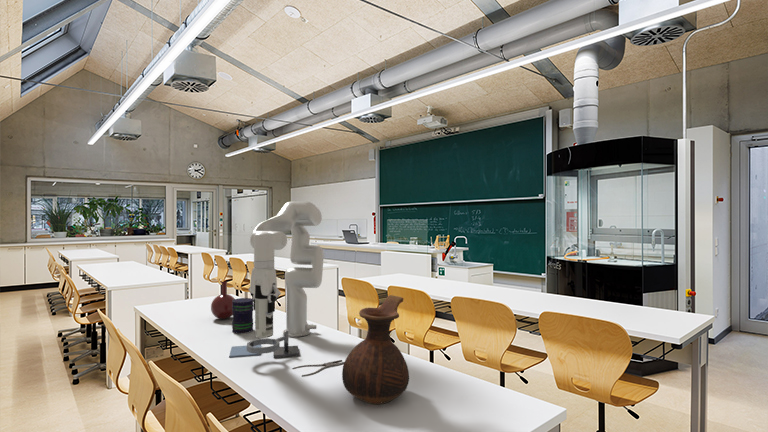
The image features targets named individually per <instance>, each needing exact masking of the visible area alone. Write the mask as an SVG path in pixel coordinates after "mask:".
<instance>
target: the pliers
mask: <svg viewBox="0 0 768 432" xmlns="http://www.w3.org/2000/svg"><path fill="white" fill-rule="evenodd" d="M344 362H345V361H343V360H342V359H339V360H333V361H329V362H324V363H321V364H319V363H318V364H304V365H299V366H296V367H292V370H296V369H299V368H306V367H308V368H309V367H321V368H319V369H318V370H316V371H313V372H310V373H306V374H301V377H308V376H312V375H316V374H317V373H320V372H322V371H323V370H325V369H327V368H331V367H332V368H333V367H338V366H342V365H344Z"/></svg>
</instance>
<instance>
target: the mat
mask: <svg viewBox="0 0 768 432" xmlns="http://www.w3.org/2000/svg"><path fill="white" fill-rule="evenodd" d="M253 347H259V348H261V347H262V345H256V346H253ZM261 355H262V354H255V353H250V352H248V351H247V345H238V346H237V345H236V346H235V345H233V346H231V348H230V351H229V357H228V358H239V357H252V356H261Z"/></svg>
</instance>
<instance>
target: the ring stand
mask: <svg viewBox="0 0 768 432" xmlns="http://www.w3.org/2000/svg"><path fill="white" fill-rule="evenodd" d="M283 331H284V330H283ZM281 342H283V346H280V343H281ZM256 345H261V348H259V347H253V346H256ZM262 345H270V346H264V347H263V346H262ZM246 346H247V351H248V352H250V353H255V354H261V355H263V354H269V353H273V359H279V358H280V359H281V358H293V357H300V349H299V345H289V331H284V335H282V336H281V337H278V338H270V337H267V338H257V339H253V340H251V341H248V342H247V343H246Z"/></svg>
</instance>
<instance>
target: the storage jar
mask: <svg viewBox="0 0 768 432" xmlns="http://www.w3.org/2000/svg"><path fill="white" fill-rule="evenodd" d="M232 302H233V304H232V305H233V306H232V312H233V315H232V320H231V321H232V322H231V327H232V328H231V329H232V333H233V334H241V333H242V334H247V333H251V332H252V331H254V318H253V316H254V315H253V314H254V313H253V311H254V300H253V299H252V297H251V298H249V297H241V298H234V300H233V301H232Z"/></svg>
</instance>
